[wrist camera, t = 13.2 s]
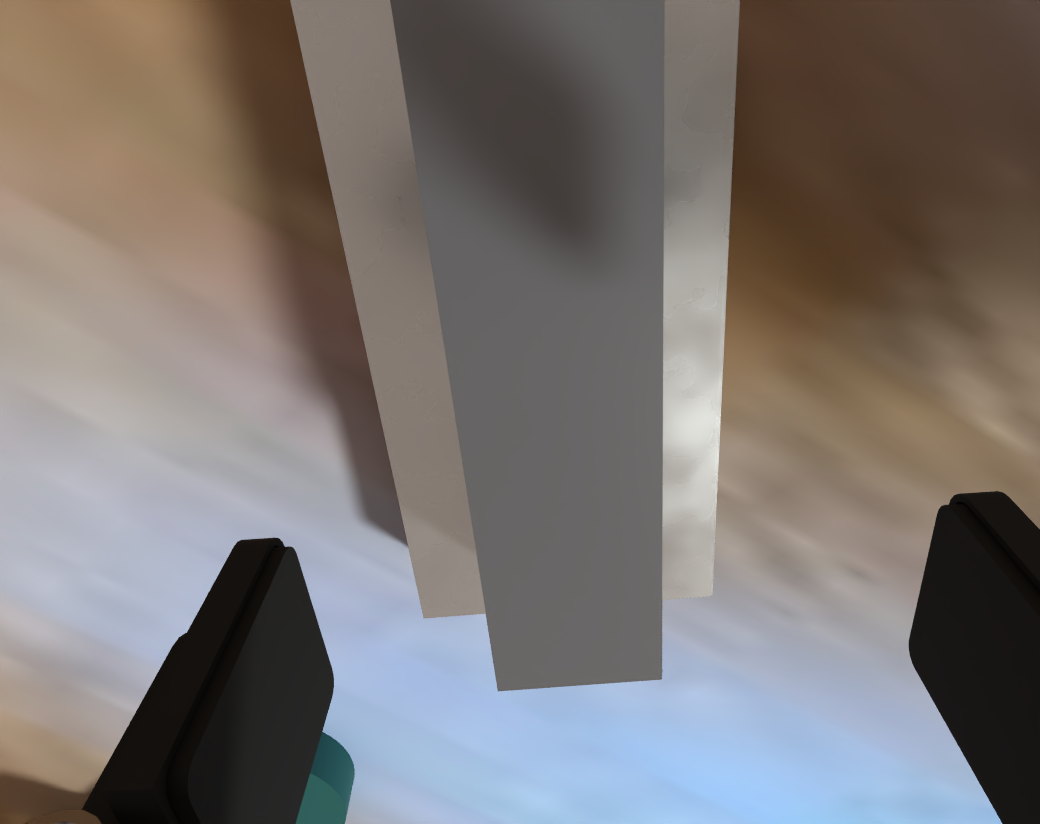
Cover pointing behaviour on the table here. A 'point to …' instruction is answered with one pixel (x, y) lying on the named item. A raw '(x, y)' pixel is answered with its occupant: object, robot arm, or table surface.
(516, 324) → the grey bar
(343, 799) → the bracket
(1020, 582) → the robot arm
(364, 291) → the mounting plate
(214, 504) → the table surface
